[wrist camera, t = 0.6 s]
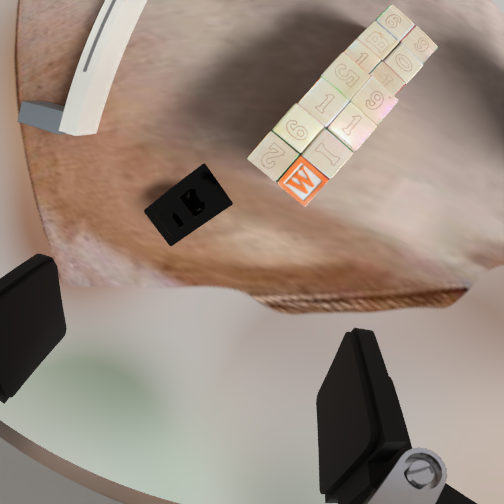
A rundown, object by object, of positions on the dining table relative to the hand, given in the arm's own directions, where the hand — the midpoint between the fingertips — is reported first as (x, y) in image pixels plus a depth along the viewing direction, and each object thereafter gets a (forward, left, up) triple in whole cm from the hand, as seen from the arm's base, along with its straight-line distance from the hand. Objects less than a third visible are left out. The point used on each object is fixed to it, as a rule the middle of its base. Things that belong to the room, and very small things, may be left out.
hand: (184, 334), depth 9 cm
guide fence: (-14, -29, -30) cm, 44 cm away
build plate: (+7, -7, -31) cm, 32 cm away
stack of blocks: (-12, +5, -30) cm, 33 cm away
